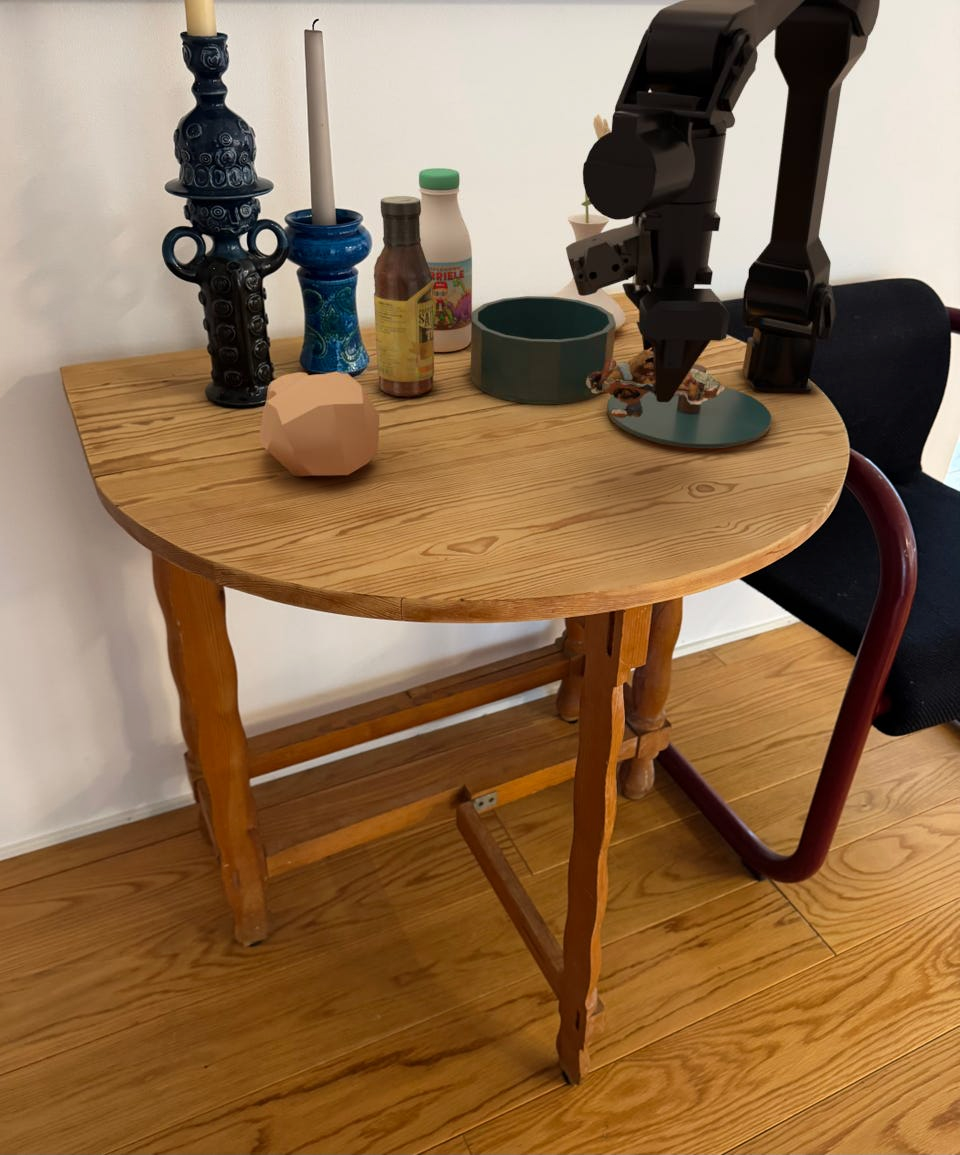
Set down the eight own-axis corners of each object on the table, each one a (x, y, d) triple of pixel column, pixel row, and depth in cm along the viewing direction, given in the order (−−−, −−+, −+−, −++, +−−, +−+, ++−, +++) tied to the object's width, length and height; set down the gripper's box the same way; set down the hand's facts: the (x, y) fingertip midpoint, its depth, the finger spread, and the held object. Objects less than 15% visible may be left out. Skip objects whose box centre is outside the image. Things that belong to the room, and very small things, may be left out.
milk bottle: (402, 335, 120) (397, 166, 109) (461, 330, 122) (462, 163, 111) (418, 356, 114) (414, 178, 103) (479, 350, 116) (481, 175, 105)
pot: (602, 355, 115) (607, 297, 111) (616, 406, 102) (622, 342, 98) (472, 352, 115) (473, 294, 112) (469, 403, 102) (469, 339, 98)
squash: (289, 508, 83) (257, 411, 78) (247, 444, 99) (218, 362, 95) (404, 467, 85) (379, 372, 81) (343, 412, 102) (320, 330, 97)
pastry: (736, 399, 83) (742, 360, 81) (616, 421, 79) (620, 380, 77) (690, 371, 88) (696, 333, 86) (576, 390, 84) (579, 351, 82)
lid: (749, 390, 106) (758, 341, 103) (787, 455, 92) (799, 402, 89) (599, 387, 106) (604, 338, 103) (614, 452, 92) (620, 398, 89)
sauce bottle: (432, 400, 103) (429, 207, 92) (375, 398, 103) (365, 206, 92) (436, 377, 108) (434, 193, 97) (381, 376, 108) (373, 192, 97)
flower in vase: (619, 348, 117) (640, 126, 104) (528, 339, 119) (538, 121, 106) (630, 316, 128) (650, 111, 114) (546, 309, 130) (557, 107, 116)
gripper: (568, 172, 82) (558, 347, 90) (585, 223, 66) (571, 429, 75) (698, 174, 82) (675, 349, 90) (745, 225, 66) (713, 432, 75)
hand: (657, 386), depth 82 cm, fingers closed on pastry, 6 cm apart
